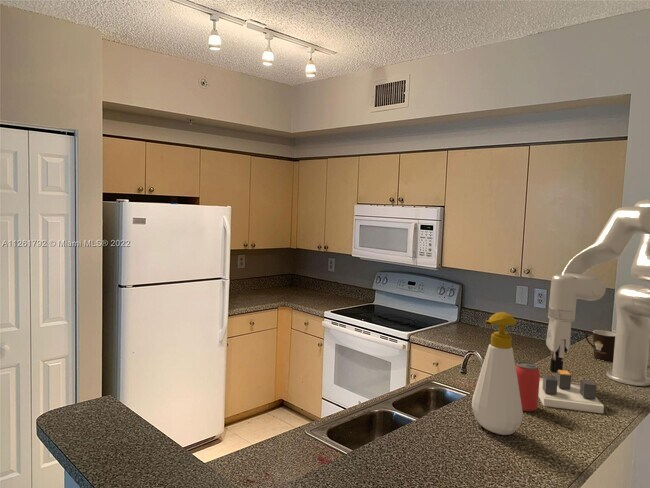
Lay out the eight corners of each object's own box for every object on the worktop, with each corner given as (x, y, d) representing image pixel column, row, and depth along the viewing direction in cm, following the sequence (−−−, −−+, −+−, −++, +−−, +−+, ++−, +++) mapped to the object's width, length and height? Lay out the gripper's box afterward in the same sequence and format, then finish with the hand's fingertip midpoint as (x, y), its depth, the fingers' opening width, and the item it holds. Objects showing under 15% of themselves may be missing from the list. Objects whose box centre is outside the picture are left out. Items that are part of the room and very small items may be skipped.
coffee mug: (621, 363, 176) (624, 336, 175) (598, 362, 176) (600, 335, 175) (604, 353, 187) (606, 328, 187) (582, 352, 188) (584, 327, 187)
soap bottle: (457, 425, 118) (464, 309, 116) (482, 415, 124) (489, 306, 122) (504, 447, 108) (513, 320, 106) (528, 435, 114) (537, 316, 112)
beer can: (539, 413, 127) (543, 369, 126) (513, 410, 129) (517, 367, 128) (534, 404, 134) (537, 362, 133) (509, 401, 135) (512, 359, 134)
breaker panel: (532, 383, 150) (533, 364, 150) (584, 389, 147) (585, 369, 146) (543, 405, 133) (545, 383, 132) (603, 413, 129) (605, 390, 129)
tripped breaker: (556, 383, 145) (557, 369, 144) (566, 384, 144) (567, 370, 144) (559, 387, 141) (560, 373, 141) (570, 389, 140) (571, 374, 140)
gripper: (543, 308, 157) (538, 363, 158) (553, 318, 142) (548, 378, 144) (568, 311, 155) (563, 366, 156) (581, 320, 141) (575, 381, 142)
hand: (555, 371), depth 150 cm, fingers closed
